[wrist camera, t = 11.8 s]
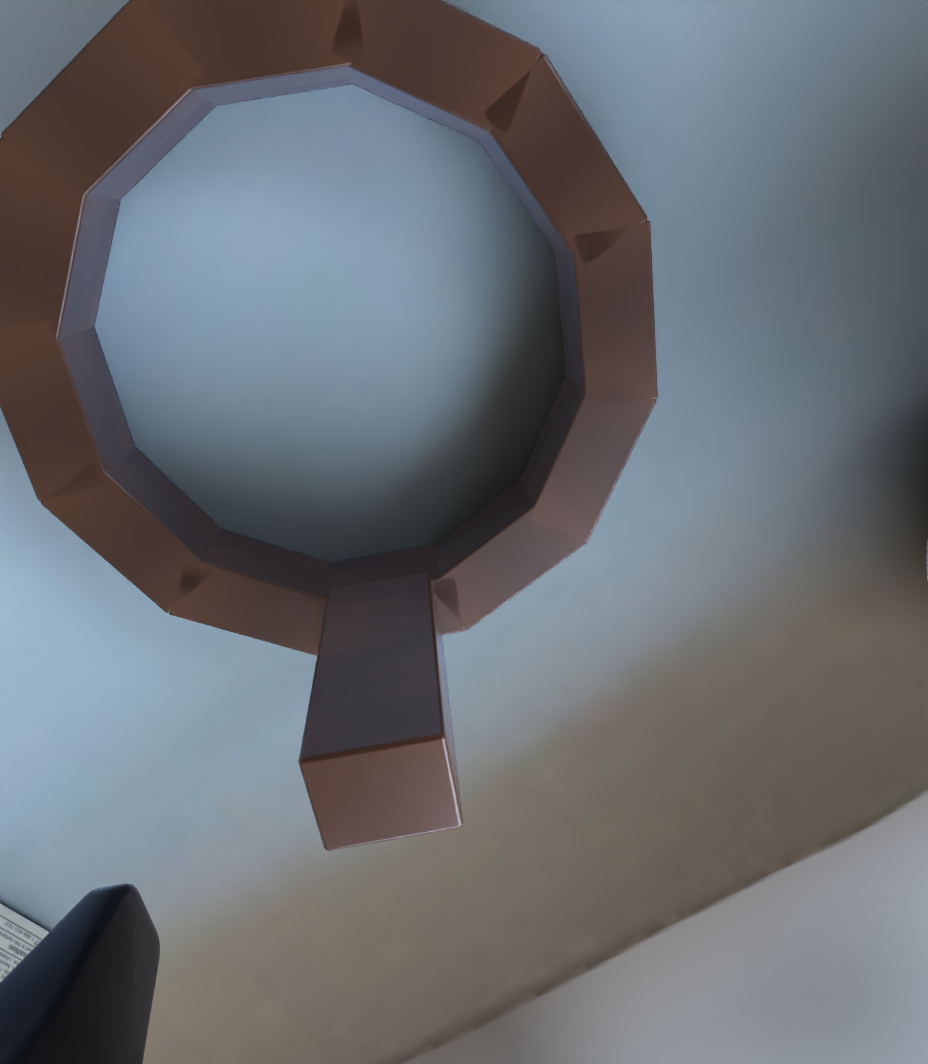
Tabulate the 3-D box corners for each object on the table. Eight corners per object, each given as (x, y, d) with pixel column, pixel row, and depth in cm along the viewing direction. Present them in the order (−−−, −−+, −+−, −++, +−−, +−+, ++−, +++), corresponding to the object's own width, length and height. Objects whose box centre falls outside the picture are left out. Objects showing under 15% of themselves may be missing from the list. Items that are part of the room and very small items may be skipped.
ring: (606, -51, 15) (823, -329, 7) (642, 569, 20) (785, 771, 13) (-84, 55, 14) (-593, -121, 7) (144, 655, 20) (-6, 912, 12)
